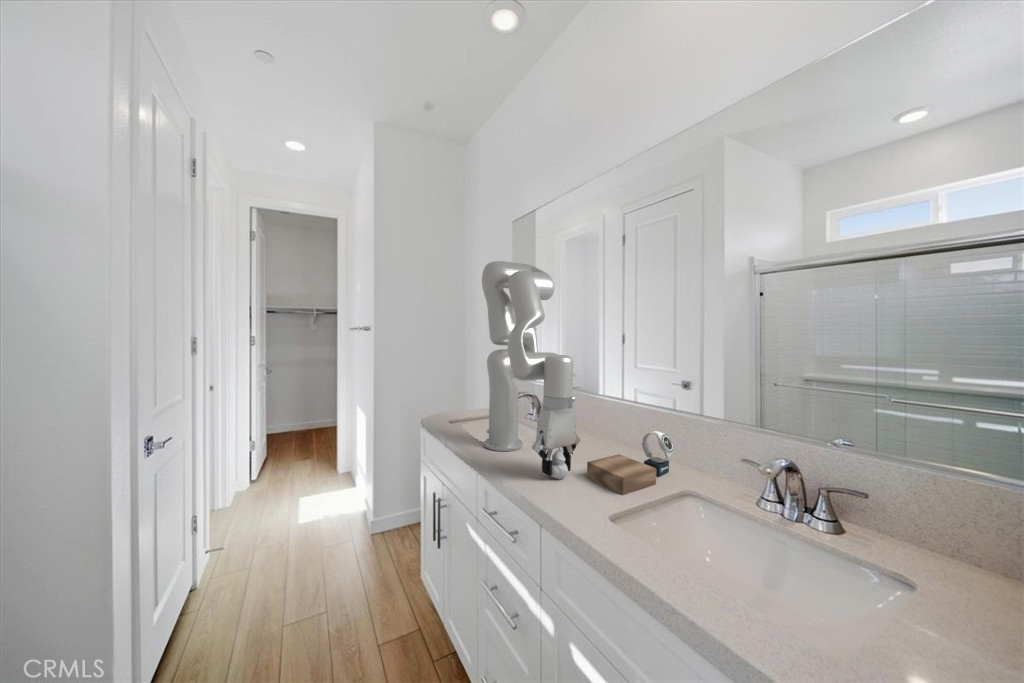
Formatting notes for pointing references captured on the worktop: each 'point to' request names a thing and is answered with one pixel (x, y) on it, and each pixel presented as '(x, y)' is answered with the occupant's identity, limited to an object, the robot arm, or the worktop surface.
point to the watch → (655, 462)
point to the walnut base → (621, 473)
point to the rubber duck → (559, 465)
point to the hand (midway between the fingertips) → (556, 471)
